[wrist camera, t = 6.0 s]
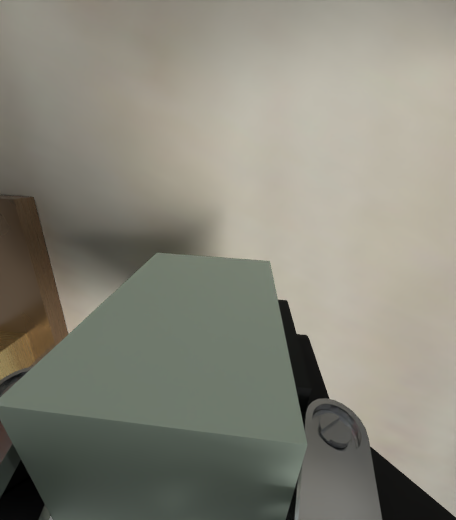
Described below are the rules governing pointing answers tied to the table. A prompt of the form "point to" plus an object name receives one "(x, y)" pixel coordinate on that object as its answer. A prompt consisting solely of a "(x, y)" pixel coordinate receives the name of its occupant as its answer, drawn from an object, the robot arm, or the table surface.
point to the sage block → (166, 401)
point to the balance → (26, 289)
